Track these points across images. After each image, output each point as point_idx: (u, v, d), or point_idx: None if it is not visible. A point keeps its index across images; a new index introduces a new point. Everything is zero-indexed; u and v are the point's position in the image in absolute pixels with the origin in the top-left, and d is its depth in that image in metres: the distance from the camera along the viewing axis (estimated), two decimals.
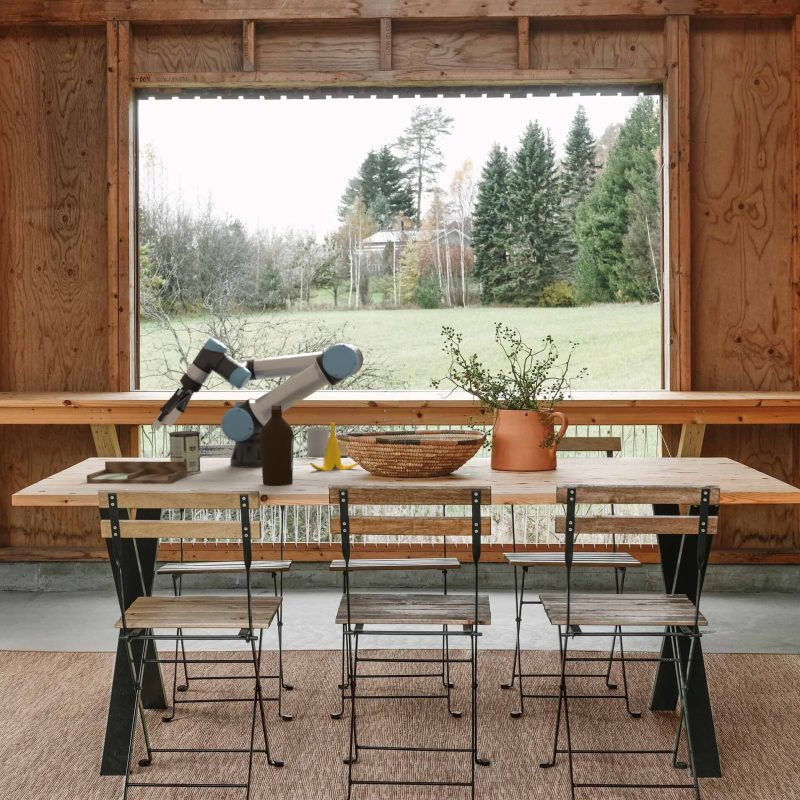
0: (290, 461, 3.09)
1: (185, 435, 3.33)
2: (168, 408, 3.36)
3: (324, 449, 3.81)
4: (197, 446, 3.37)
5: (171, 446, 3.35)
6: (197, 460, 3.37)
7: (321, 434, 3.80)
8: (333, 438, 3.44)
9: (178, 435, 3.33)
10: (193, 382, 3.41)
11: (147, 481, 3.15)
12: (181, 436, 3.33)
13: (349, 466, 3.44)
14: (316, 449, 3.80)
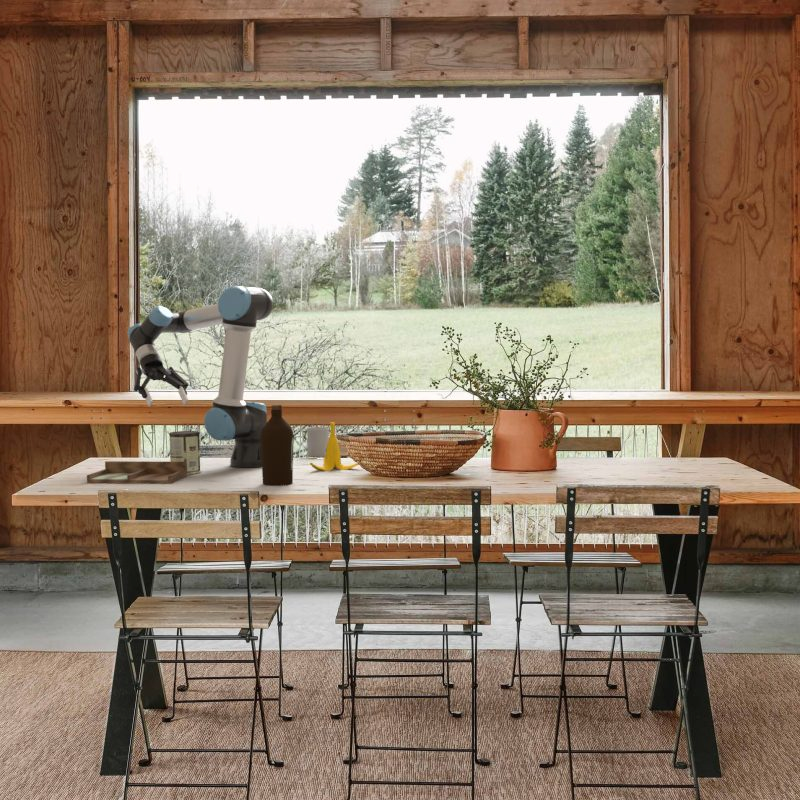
0: (290, 461, 3.09)
1: (185, 435, 3.33)
2: (135, 383, 3.44)
3: (324, 449, 3.81)
4: (197, 446, 3.37)
5: (171, 446, 3.35)
6: (197, 460, 3.37)
7: (321, 434, 3.80)
8: (332, 438, 3.44)
9: (178, 435, 3.33)
10: (142, 358, 3.53)
11: (147, 481, 3.15)
12: (181, 436, 3.33)
13: (349, 466, 3.44)
14: (316, 449, 3.80)
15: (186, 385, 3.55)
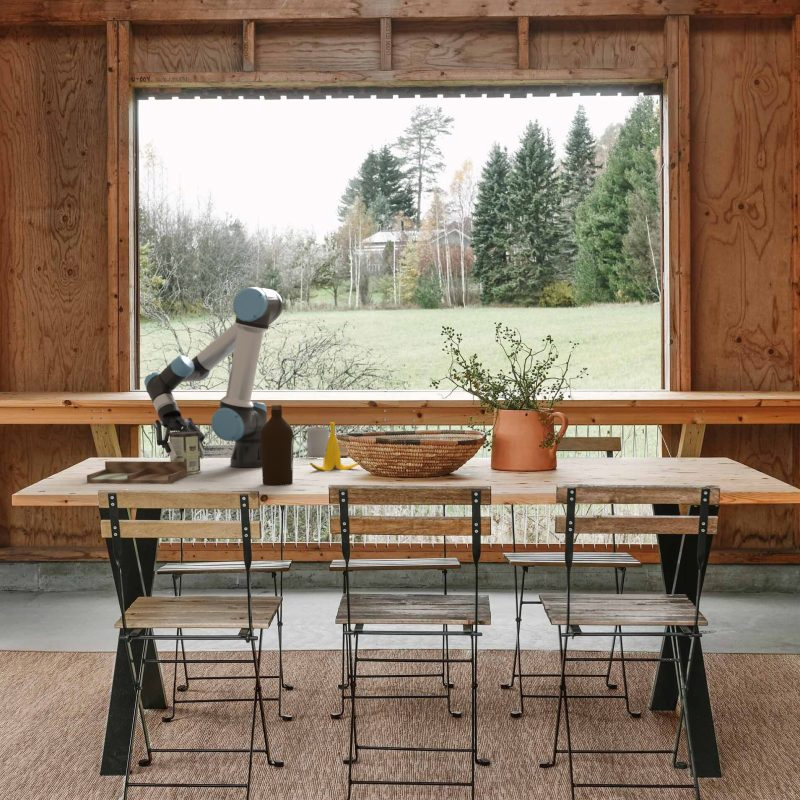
0: (290, 461, 3.09)
1: (185, 435, 3.33)
2: (158, 437, 3.35)
3: (324, 449, 3.81)
4: (197, 446, 3.37)
5: None
6: (197, 460, 3.37)
7: (321, 434, 3.80)
8: (332, 438, 3.44)
9: (178, 435, 3.33)
10: (160, 409, 3.44)
11: (147, 481, 3.15)
12: (181, 436, 3.33)
13: (349, 466, 3.44)
14: (316, 449, 3.80)
15: (202, 438, 3.44)
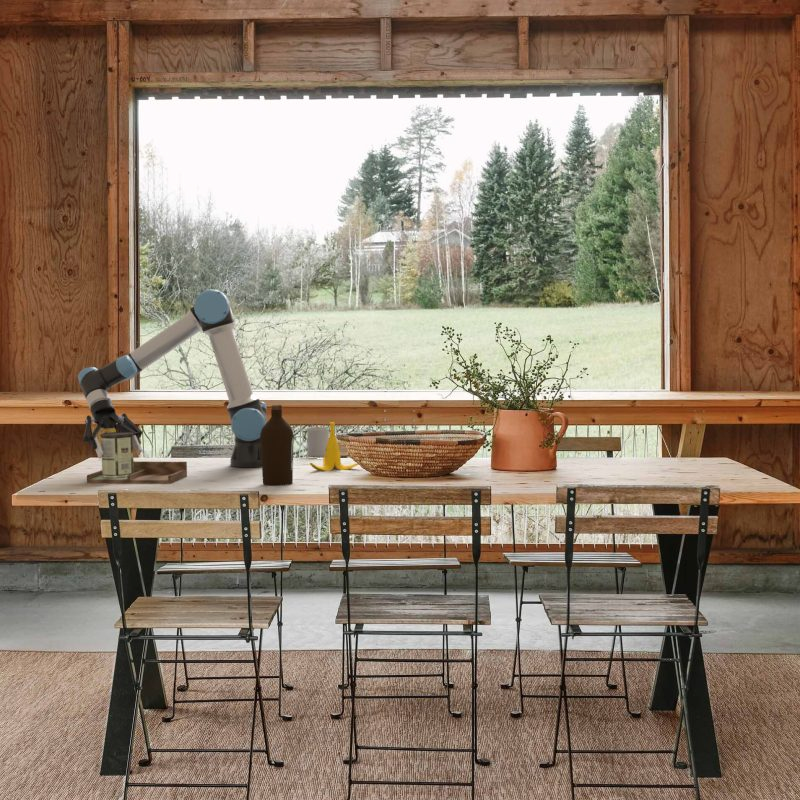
0: (290, 461, 3.09)
1: (116, 436, 3.18)
2: (84, 433, 3.20)
3: (324, 449, 3.81)
4: (130, 448, 3.22)
5: (102, 448, 3.20)
6: (129, 463, 3.22)
7: (321, 434, 3.80)
8: (332, 438, 3.44)
9: (109, 436, 3.18)
10: (92, 405, 3.29)
11: (147, 481, 3.15)
12: (112, 437, 3.18)
13: (349, 466, 3.44)
14: (316, 449, 3.80)
15: (140, 433, 3.30)
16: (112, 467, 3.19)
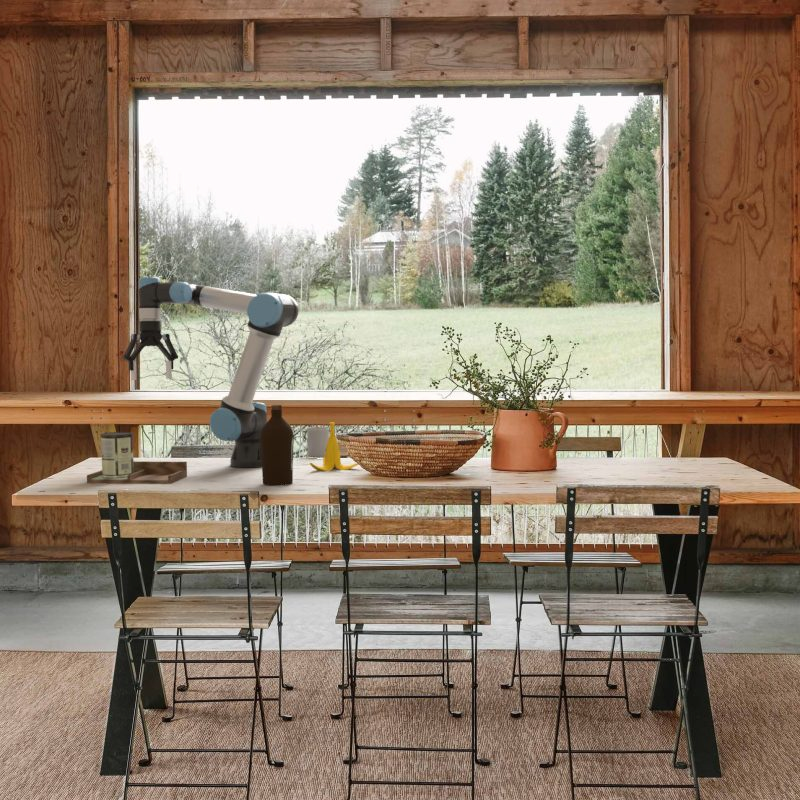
0: (290, 461, 3.09)
1: (116, 436, 3.18)
2: (126, 354, 3.48)
3: (324, 449, 3.81)
4: (130, 448, 3.22)
5: (102, 448, 3.20)
6: (129, 463, 3.22)
7: (321, 434, 3.80)
8: (332, 438, 3.44)
9: (109, 436, 3.18)
10: (142, 322, 3.50)
11: (147, 481, 3.15)
12: (112, 437, 3.18)
13: (349, 466, 3.44)
14: (316, 449, 3.80)
15: (175, 358, 3.59)
16: (112, 467, 3.19)
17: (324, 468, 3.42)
